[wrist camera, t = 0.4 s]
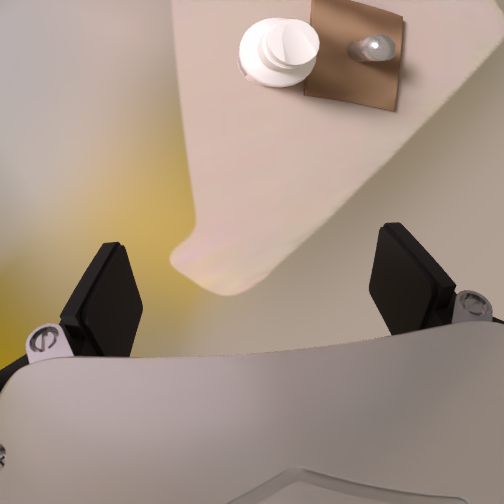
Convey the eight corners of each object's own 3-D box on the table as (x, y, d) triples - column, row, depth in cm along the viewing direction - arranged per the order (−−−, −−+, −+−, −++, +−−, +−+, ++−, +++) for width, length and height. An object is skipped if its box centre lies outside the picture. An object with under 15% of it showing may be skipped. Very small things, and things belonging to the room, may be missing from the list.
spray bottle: (281, 28, 29) (322, -12, 14) (302, 76, 33) (357, 74, 17) (228, 46, 30) (225, 14, 15) (250, 94, 34) (265, 102, 18)
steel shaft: (348, 37, 29) (371, 30, 23) (370, 43, 29) (396, 38, 23) (346, 59, 30) (369, 56, 24) (368, 64, 31) (394, 63, 25)
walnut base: (311, -5, 27) (315, -8, 26) (397, 18, 28) (402, 16, 27) (303, 94, 34) (306, 95, 33) (388, 110, 35) (394, 111, 34)
